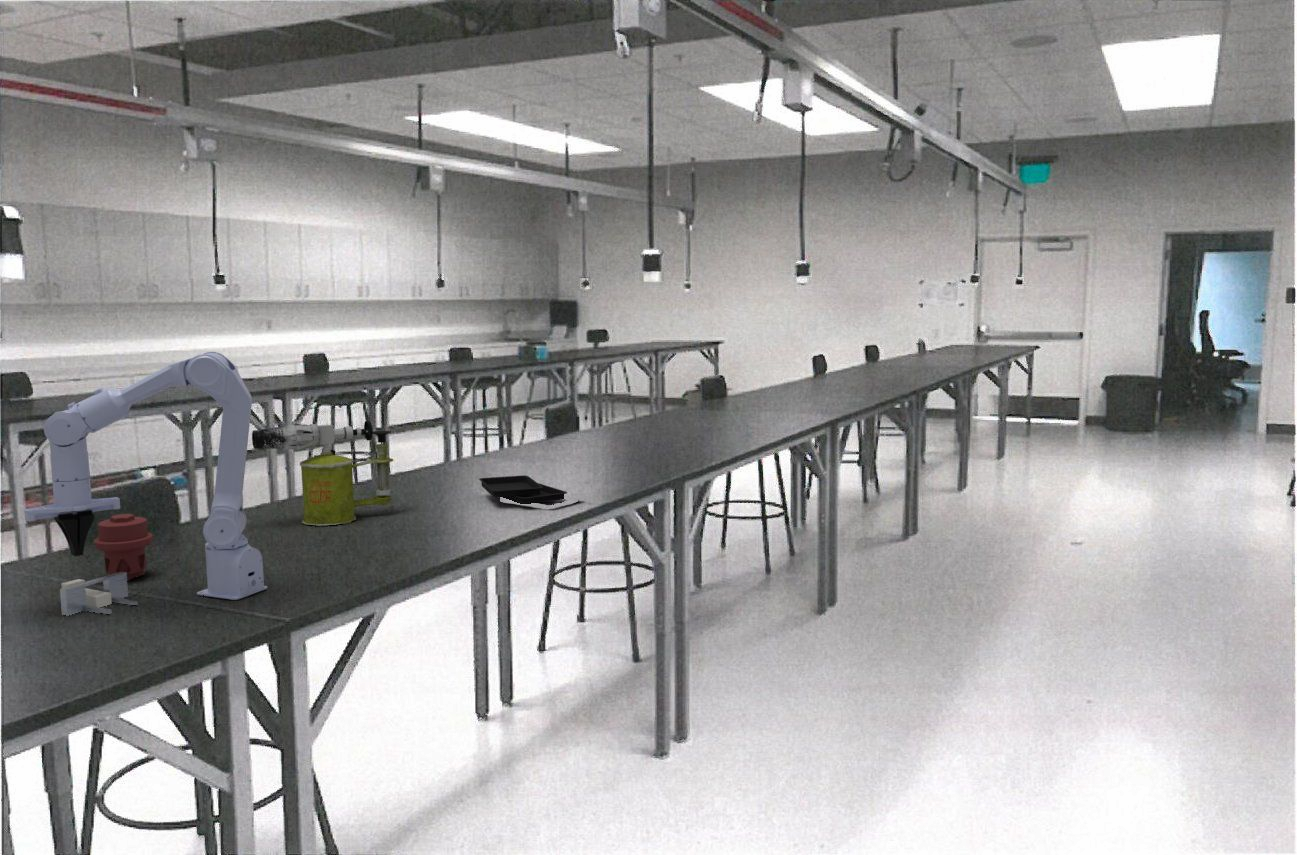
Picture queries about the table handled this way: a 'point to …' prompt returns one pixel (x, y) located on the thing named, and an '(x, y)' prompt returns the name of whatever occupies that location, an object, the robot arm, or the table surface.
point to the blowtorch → (328, 469)
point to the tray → (521, 489)
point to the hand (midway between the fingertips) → (77, 554)
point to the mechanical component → (124, 544)
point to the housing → (76, 594)
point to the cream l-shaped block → (92, 595)
